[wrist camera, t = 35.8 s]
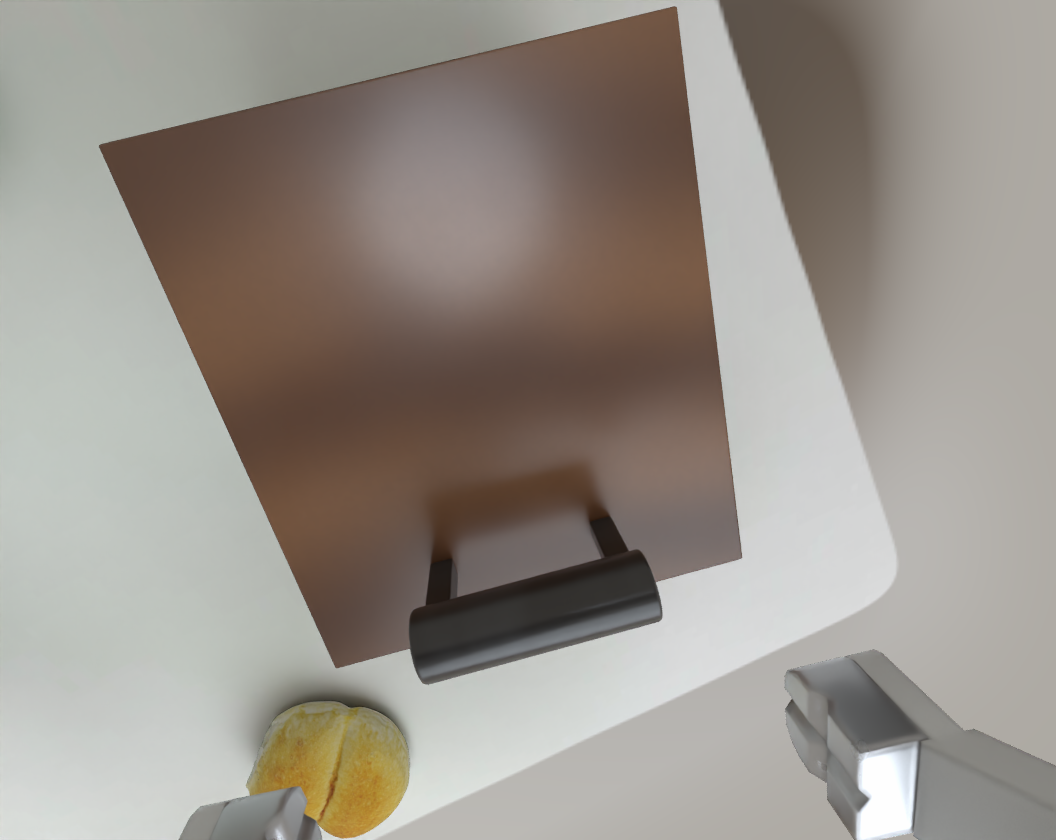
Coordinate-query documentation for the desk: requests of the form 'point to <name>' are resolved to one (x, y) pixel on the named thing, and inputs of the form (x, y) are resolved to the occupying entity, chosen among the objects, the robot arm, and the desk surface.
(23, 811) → the desk surface
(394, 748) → the bread roll
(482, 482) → the lid
